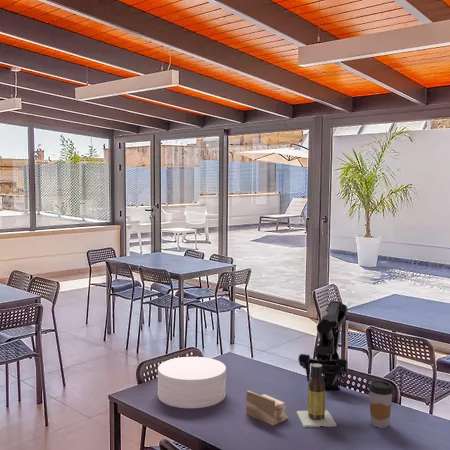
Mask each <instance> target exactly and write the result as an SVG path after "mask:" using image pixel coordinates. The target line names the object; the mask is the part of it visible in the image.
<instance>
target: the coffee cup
mask: <svg viewBox="0 0 450 450" xmlns="http://www.w3.org/2000/svg"><path fill="white" fill-rule="evenodd" d="M393 390H394V389H393V387H392V384H391V383H390V382H388V381H384V380H373V381H371V382H370V384H369V387H368V391H369V412H370V413H369V414H370V423H371V425H372V427H375V428H379V429H385V428H387V427H389V425H390V419H391V410H392V401H393V399H392V398H393V393H394V391H393Z"/></svg>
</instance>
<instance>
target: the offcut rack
mask: <svg viewBox="0 0 450 450" xmlns="http://www.w3.org/2000/svg"><path fill="white" fill-rule="evenodd" d="M245 404H246V409H245V410H246V411H245V412H246V415H247V416H249V417H252V418H253V419H256V420H259V421H261V422H263V423H266V424H268V425H271V426H275V425H277V424H279V423H281V422H283V421H285V420H287V419H288V415H286V411H287V407H286V406H285V405H286V403H285V402H283V401H282V400H279V399H277V398H274V397H272V396H269V395H268V394H265V393H263V394H259V393H256V392H253V391H251V390H246V403H245Z"/></svg>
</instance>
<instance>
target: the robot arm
mask: <svg viewBox="0 0 450 450" xmlns="http://www.w3.org/2000/svg"><path fill="white" fill-rule="evenodd" d="M348 309H349V308H348V306H347V305H346V304H345V303H343V302H342V301H340V300H339V301H338V300H330V301H329V303H328V304H327V313H326V315H323V316H322V317H321V320H318V321H319V322H318V324H317V325H316V331H317V332H316V333H317V335H318V339H319V340H318V345H315V356H314V357H315V358H311V357H310V354H305V353H300V354H299V355H298V359H297V360H298V363H299V366H301V367H302V368H303V369H305V373H306V379H307V382H308V383H309V380H310V379H311V377H310V376H311V365H312V364H321V365H322V379H323V380H324V382H325V391H340V386H339V385H340V382H339V381H340V377H341V376H343V374H344V373H348V371H349V364H348V363H349V362H348V360H347V359H345V358H340V356H339V353H338V350H339V341H340V334H341V329H342V325H343V323H345V321H346V318H347V316H348V311H349V310H348Z"/></svg>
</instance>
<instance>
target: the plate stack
mask: <svg viewBox="0 0 450 450" xmlns="http://www.w3.org/2000/svg"><path fill="white" fill-rule="evenodd" d="M226 372H227V367H226V365H225V363H223V361H220V360H217V359H215V358H210V357H202V356H183V357H182V356H181V357H175V358H171V359H168V360H165V361H163V362H161V363H160V364H159V365H158V366H157V398H158V399H159V401H160V402H162V403H163V404H165V405H168V406H169V407H170V406H171V407H174V408H181V409H200V408H206V407H211V406H215V405H216V404H219V403H221V402H222V401H223V400H224V399H225V398H226V395H227V393H226V391H227V390H226V389H227V388H226V387H227V386H226V383H227V381H226V380H227V379H226V378H227V373H226Z"/></svg>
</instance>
